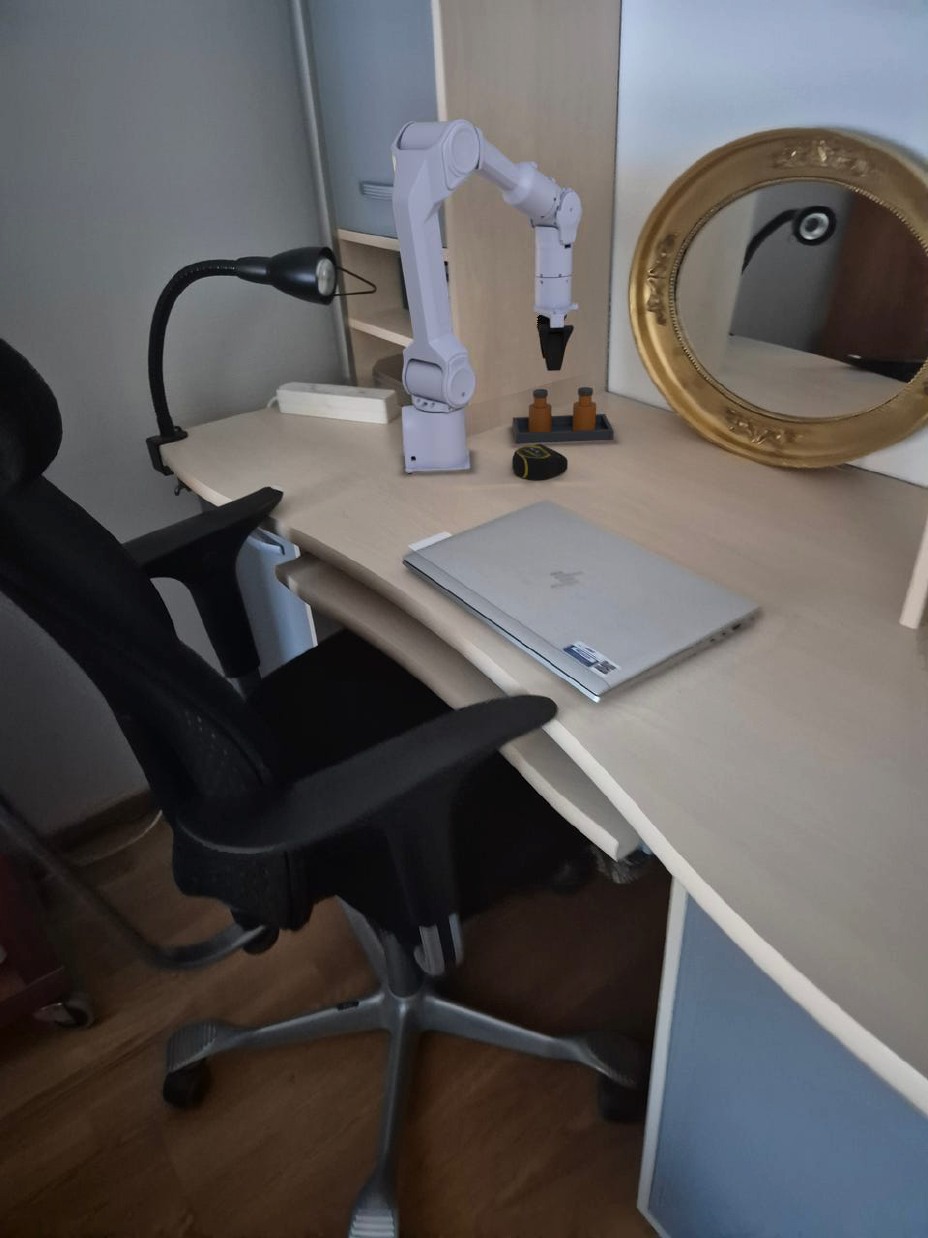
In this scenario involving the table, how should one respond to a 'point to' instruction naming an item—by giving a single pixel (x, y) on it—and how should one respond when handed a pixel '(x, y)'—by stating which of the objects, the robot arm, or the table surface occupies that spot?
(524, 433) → the tray
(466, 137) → the robot arm
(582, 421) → the amber bottle
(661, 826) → the table surface
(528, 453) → the tape measure
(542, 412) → the row bottle
